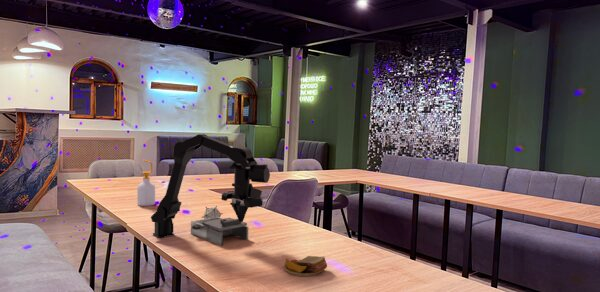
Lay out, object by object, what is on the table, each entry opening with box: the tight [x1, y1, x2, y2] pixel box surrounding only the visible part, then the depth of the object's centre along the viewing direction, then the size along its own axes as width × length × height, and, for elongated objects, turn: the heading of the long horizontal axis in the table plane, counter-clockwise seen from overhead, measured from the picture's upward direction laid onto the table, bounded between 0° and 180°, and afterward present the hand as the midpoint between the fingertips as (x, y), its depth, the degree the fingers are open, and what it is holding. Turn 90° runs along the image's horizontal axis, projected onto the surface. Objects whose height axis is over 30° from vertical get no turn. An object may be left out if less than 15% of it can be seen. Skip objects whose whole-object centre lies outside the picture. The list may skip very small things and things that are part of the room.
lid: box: [202, 217, 248, 231], centre depth 167 cm, size 13×12×3 cm
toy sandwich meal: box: [283, 255, 328, 277], centre depth 134 cm, size 12×14×5 cm
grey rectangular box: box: [190, 216, 249, 247], centre depth 170 cm, size 17×22×5 cm
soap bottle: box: [136, 159, 156, 207], centre depth 228 cm, size 9×9×25 cm
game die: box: [201, 205, 224, 219], centre depth 189 cm, size 9×8×10 cm
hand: (241, 221), depth 159 cm, fingers closed
